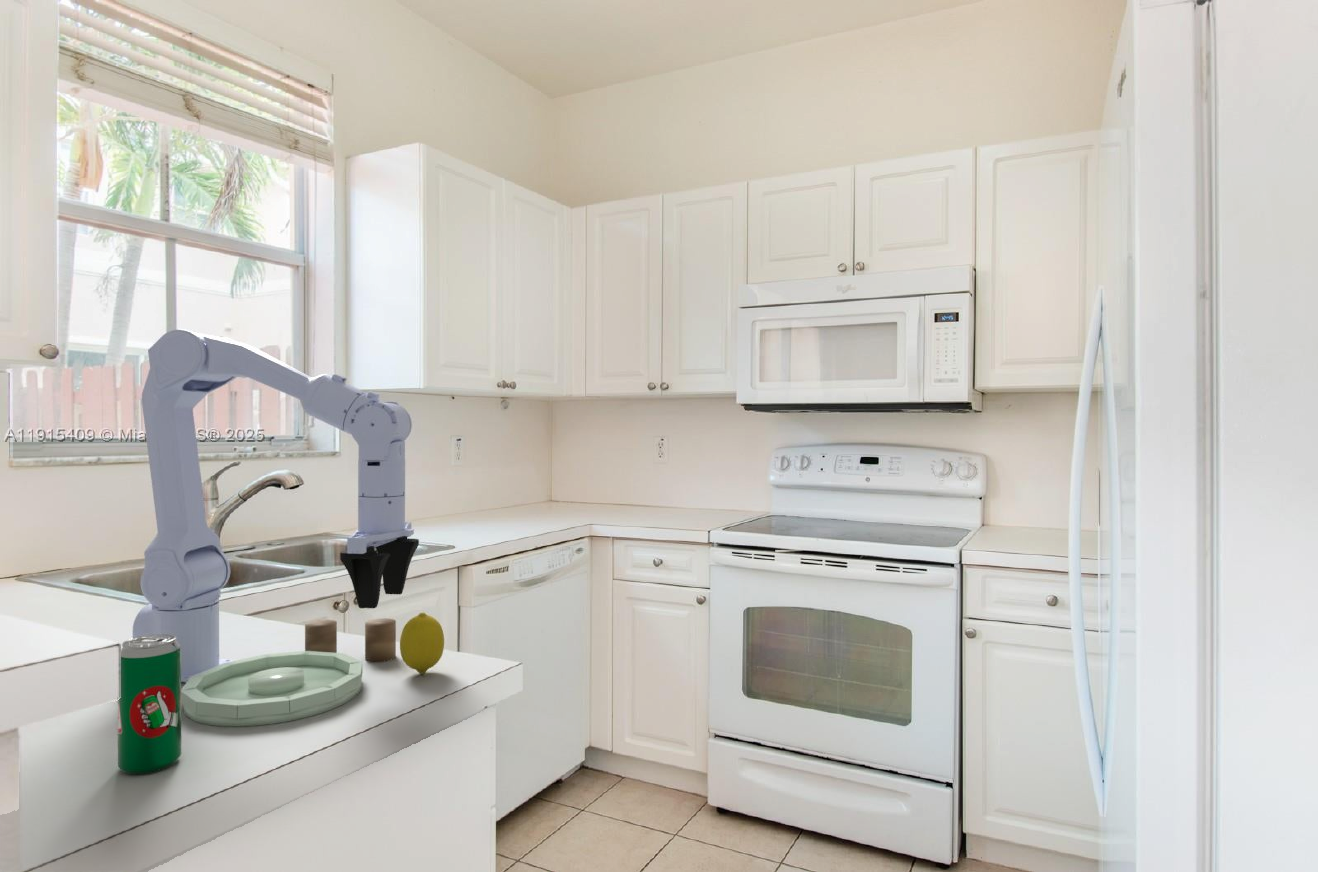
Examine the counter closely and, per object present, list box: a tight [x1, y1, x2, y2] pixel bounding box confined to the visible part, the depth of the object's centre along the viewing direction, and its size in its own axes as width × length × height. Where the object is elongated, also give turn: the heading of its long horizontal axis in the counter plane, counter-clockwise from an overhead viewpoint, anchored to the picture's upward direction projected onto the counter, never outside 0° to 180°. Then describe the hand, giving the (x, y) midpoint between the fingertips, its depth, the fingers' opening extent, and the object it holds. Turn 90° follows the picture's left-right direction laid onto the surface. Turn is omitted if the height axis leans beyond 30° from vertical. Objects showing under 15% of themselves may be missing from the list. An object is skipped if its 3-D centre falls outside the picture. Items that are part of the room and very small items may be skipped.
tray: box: [181, 650, 363, 727], centre depth 93 cm, size 19×19×2 cm
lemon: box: [399, 612, 445, 675], centre depth 101 cm, size 6×6×8 cm
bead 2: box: [364, 618, 397, 663], centre depth 107 cm, size 4×4×5 cm
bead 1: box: [304, 619, 338, 653], centre depth 106 cm, size 4×4×5 cm
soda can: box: [117, 634, 182, 776], centre depth 74 cm, size 5×5×12 cm
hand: (381, 600), depth 100 cm, fingers open, 7 cm apart
